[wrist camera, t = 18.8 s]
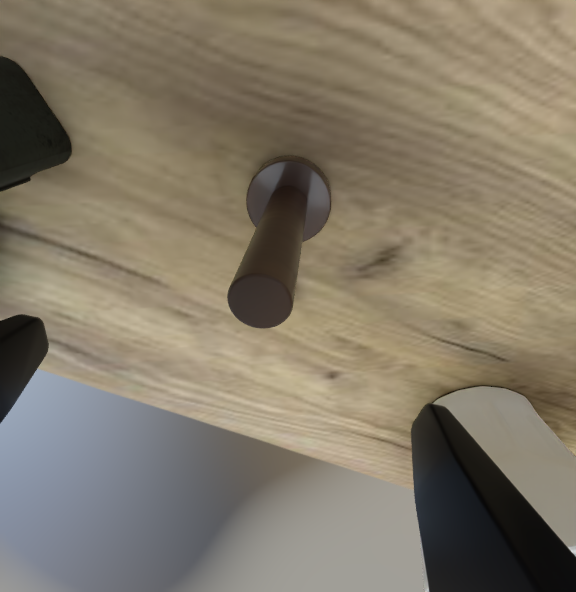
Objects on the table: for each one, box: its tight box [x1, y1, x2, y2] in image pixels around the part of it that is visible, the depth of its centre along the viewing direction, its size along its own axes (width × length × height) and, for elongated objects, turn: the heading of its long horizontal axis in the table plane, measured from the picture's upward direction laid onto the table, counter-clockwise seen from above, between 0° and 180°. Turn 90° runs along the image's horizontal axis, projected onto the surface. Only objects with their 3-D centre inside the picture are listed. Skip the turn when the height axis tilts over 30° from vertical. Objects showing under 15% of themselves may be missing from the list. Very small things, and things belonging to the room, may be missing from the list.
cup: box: [420, 386, 576, 592], centre depth 23 cm, size 12×12×11 cm
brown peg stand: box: [227, 156, 331, 328], centre depth 15 cm, size 4×4×10 cm
